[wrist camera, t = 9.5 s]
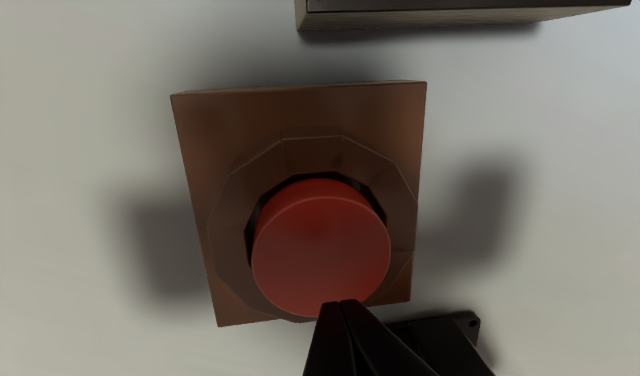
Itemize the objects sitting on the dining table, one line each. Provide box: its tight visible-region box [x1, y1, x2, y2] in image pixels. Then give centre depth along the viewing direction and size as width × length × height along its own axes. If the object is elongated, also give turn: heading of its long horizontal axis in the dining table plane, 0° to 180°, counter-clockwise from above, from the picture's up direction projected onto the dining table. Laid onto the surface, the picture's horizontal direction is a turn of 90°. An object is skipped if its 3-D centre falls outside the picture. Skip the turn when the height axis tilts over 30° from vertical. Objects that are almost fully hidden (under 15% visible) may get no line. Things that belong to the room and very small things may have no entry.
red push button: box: [251, 178, 391, 317], centre depth 10 cm, size 4×4×2 cm
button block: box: [170, 80, 427, 327], centre depth 13 cm, size 10×9×4 cm
